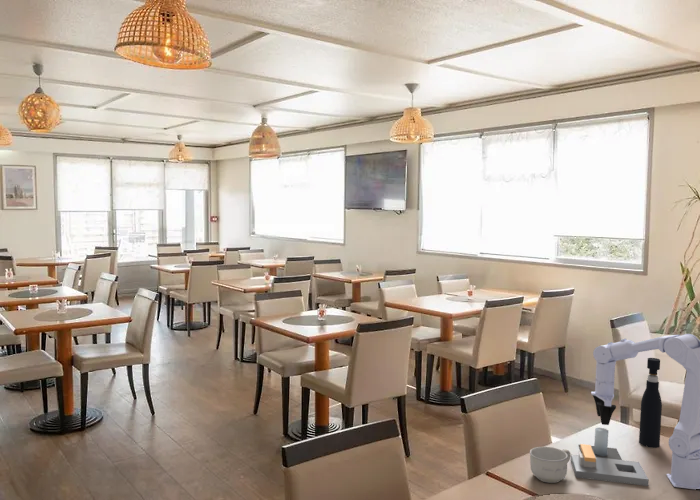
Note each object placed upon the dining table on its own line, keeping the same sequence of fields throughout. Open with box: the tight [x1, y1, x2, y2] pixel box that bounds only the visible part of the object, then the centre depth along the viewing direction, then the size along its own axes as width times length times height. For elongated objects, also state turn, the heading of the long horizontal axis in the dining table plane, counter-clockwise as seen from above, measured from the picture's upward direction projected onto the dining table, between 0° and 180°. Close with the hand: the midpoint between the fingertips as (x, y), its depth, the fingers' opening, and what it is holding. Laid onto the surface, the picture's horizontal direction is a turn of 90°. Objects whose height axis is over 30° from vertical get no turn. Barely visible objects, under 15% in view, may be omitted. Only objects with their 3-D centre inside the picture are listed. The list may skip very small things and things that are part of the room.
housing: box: [570, 452, 650, 487], centre depth 177 cm, size 20×12×5 cm, turn 76°
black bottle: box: [638, 357, 663, 449], centre depth 198 cm, size 6×6×30 cm
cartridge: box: [593, 427, 609, 456], centre depth 189 cm, size 4×4×8 cm
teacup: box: [529, 446, 571, 484], centre depth 173 cm, size 14×11×8 cm
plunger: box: [579, 443, 596, 462], centre depth 178 cm, size 3×10×4 cm, turn 166°
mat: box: [578, 443, 623, 460], centre depth 190 cm, size 12×12×1 cm
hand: (602, 420), depth 192 cm, fingers open, 7 cm apart
